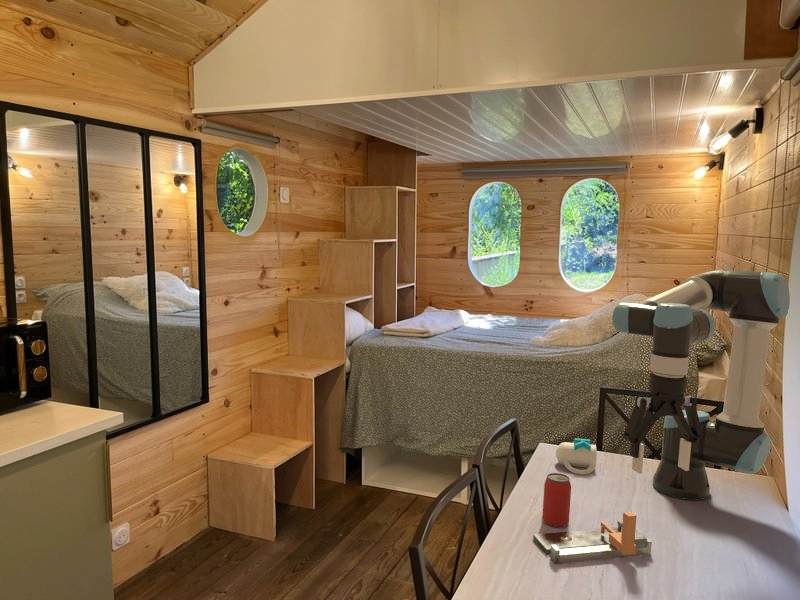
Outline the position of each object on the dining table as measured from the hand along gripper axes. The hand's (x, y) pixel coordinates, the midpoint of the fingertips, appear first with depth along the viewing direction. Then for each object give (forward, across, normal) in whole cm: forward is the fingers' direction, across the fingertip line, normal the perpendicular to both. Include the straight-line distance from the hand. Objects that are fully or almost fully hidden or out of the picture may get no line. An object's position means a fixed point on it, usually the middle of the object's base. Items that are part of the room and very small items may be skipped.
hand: (660, 469), depth 137 cm
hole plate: (+21, +11, -9) cm, 26 cm away
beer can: (+21, +14, -20) cm, 32 cm away
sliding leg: (+19, +7, -5) cm, 21 cm away
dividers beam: (+21, +11, -6) cm, 25 cm away
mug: (+21, -10, -53) cm, 58 cm away
